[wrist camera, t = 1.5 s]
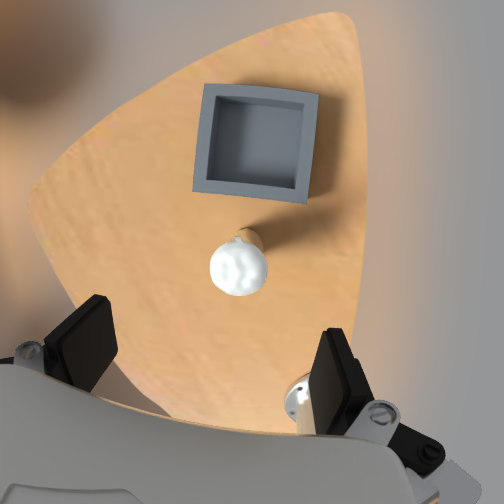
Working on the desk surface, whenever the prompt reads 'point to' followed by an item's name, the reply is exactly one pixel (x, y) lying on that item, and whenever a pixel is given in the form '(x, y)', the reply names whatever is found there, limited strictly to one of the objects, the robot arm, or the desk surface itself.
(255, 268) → the milkshake
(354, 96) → the desk surface
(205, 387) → the desk surface
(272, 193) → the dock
